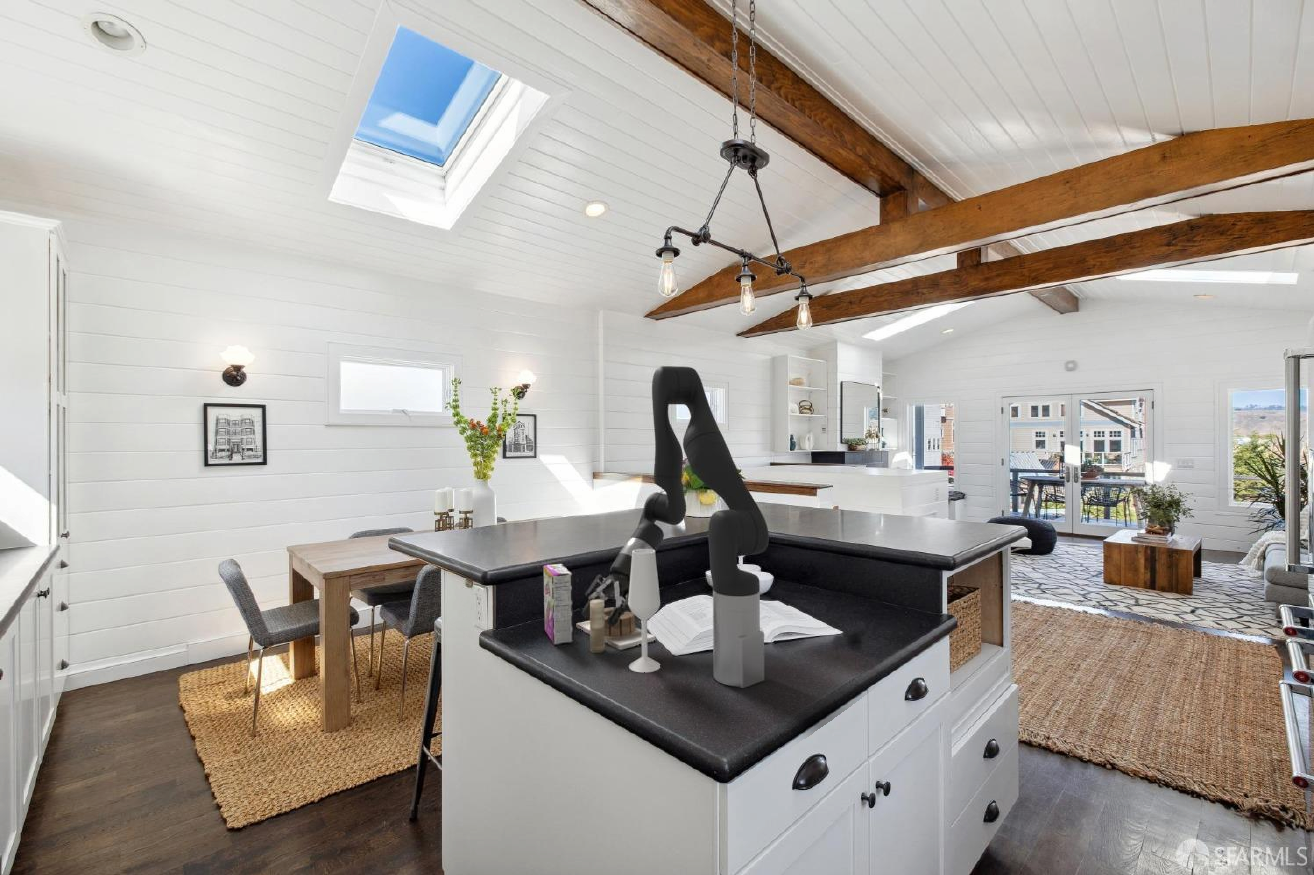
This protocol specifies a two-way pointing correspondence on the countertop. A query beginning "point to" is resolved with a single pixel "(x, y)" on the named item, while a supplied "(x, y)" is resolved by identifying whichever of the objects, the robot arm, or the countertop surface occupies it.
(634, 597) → the champagne flute
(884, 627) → the countertop surface
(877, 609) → the countertop surface
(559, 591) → the candy bar box
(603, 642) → the wooden dowel peg
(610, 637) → the gear board
